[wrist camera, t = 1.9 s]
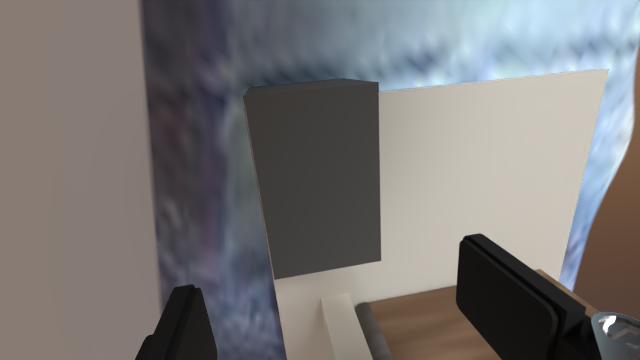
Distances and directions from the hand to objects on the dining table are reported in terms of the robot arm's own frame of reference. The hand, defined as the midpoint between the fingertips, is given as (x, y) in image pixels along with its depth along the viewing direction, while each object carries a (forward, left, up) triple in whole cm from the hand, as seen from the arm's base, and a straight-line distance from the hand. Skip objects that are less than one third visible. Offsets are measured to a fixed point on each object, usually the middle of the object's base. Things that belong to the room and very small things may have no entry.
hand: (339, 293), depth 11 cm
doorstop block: (-3, 0, -9) cm, 9 cm away
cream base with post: (+9, +8, -10) cm, 16 cm away
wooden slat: (+9, +10, -8) cm, 16 cm away
